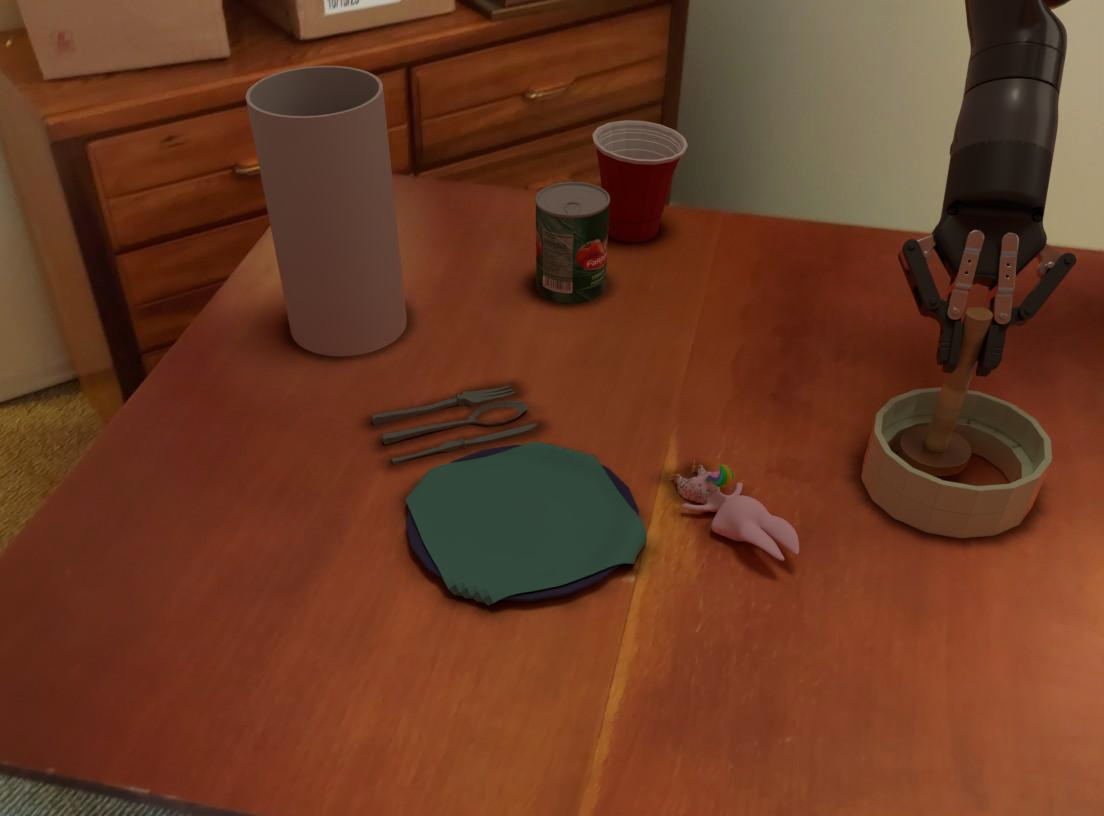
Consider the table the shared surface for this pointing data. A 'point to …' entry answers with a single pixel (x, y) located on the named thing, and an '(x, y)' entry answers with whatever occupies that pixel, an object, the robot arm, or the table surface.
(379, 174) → the cylinder vase
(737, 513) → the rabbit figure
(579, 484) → the cutlery set
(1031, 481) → the ring
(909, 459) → the wooden peg on disc
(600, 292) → the canned tomato
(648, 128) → the plastic cup
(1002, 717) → the table surface
